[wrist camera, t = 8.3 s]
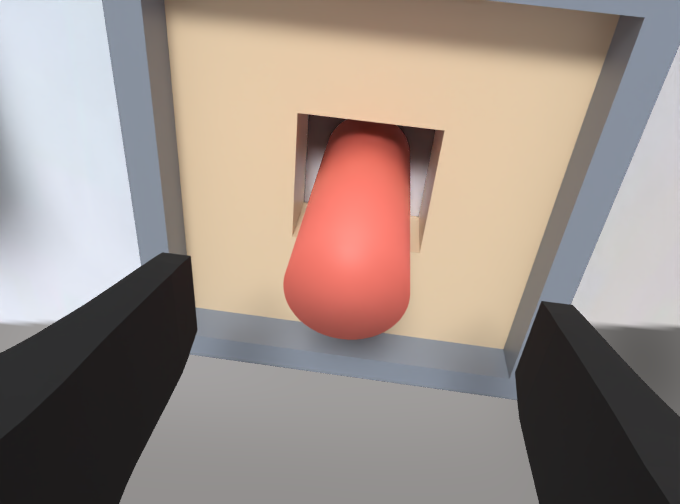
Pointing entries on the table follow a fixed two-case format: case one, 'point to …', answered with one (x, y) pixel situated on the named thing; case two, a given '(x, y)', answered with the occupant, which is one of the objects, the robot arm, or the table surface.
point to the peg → (355, 235)
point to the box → (399, 109)
